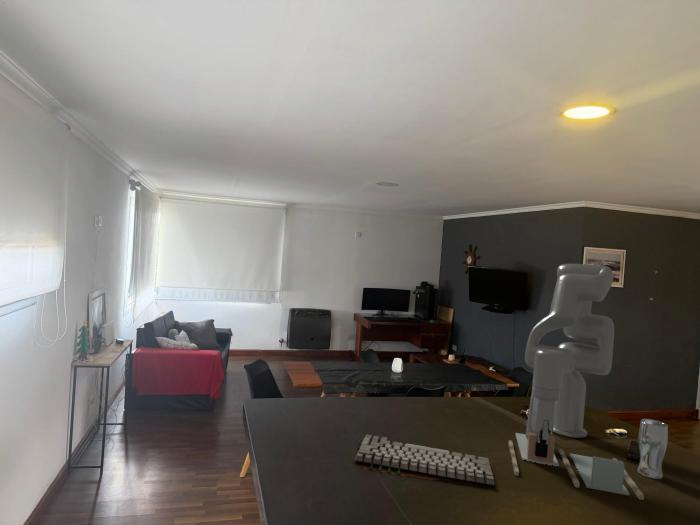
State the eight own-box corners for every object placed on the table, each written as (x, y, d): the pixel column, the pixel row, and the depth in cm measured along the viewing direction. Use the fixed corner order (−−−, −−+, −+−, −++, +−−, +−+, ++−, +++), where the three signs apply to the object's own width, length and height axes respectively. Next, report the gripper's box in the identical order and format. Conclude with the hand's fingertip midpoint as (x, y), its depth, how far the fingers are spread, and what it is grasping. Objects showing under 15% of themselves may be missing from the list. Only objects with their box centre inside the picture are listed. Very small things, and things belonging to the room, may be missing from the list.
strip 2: (569, 455, 143) (572, 430, 143) (605, 461, 141) (607, 436, 141) (586, 487, 122) (589, 458, 122) (629, 495, 120) (631, 466, 119)
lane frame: (508, 443, 149) (508, 439, 149) (615, 462, 141) (616, 458, 141) (514, 475, 126) (515, 471, 126) (643, 500, 118) (644, 495, 118)
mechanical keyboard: (488, 462, 135) (489, 451, 135) (497, 494, 116) (498, 481, 116) (360, 442, 141) (361, 431, 141) (349, 470, 123) (350, 457, 123)
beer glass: (630, 468, 137) (634, 417, 137) (652, 469, 138) (656, 419, 138) (647, 479, 130) (651, 426, 130) (670, 480, 131) (674, 427, 131)
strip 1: (515, 434, 158) (517, 412, 158) (547, 439, 155) (549, 417, 155) (522, 460, 137) (524, 434, 137) (558, 466, 134) (561, 440, 134)
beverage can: (541, 445, 148) (547, 399, 147) (524, 441, 150) (530, 395, 149) (542, 440, 152) (548, 395, 152) (526, 435, 155) (532, 391, 154)
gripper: (528, 384, 145) (523, 442, 145) (535, 397, 130) (529, 463, 130) (554, 387, 143) (549, 447, 143) (564, 401, 128) (558, 468, 128)
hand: (540, 454), depth 137 cm, fingers closed on strip 1, 2 cm apart
